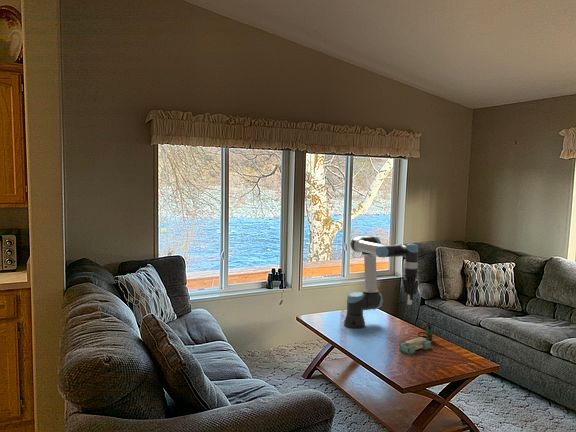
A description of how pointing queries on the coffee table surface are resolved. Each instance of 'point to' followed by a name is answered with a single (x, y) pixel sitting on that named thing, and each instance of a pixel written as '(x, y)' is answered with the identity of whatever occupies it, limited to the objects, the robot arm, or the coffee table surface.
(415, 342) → the beige long bar
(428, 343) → the cap
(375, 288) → the robot arm
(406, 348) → the cap
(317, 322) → the coffee table surface
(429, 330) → the binoculars
